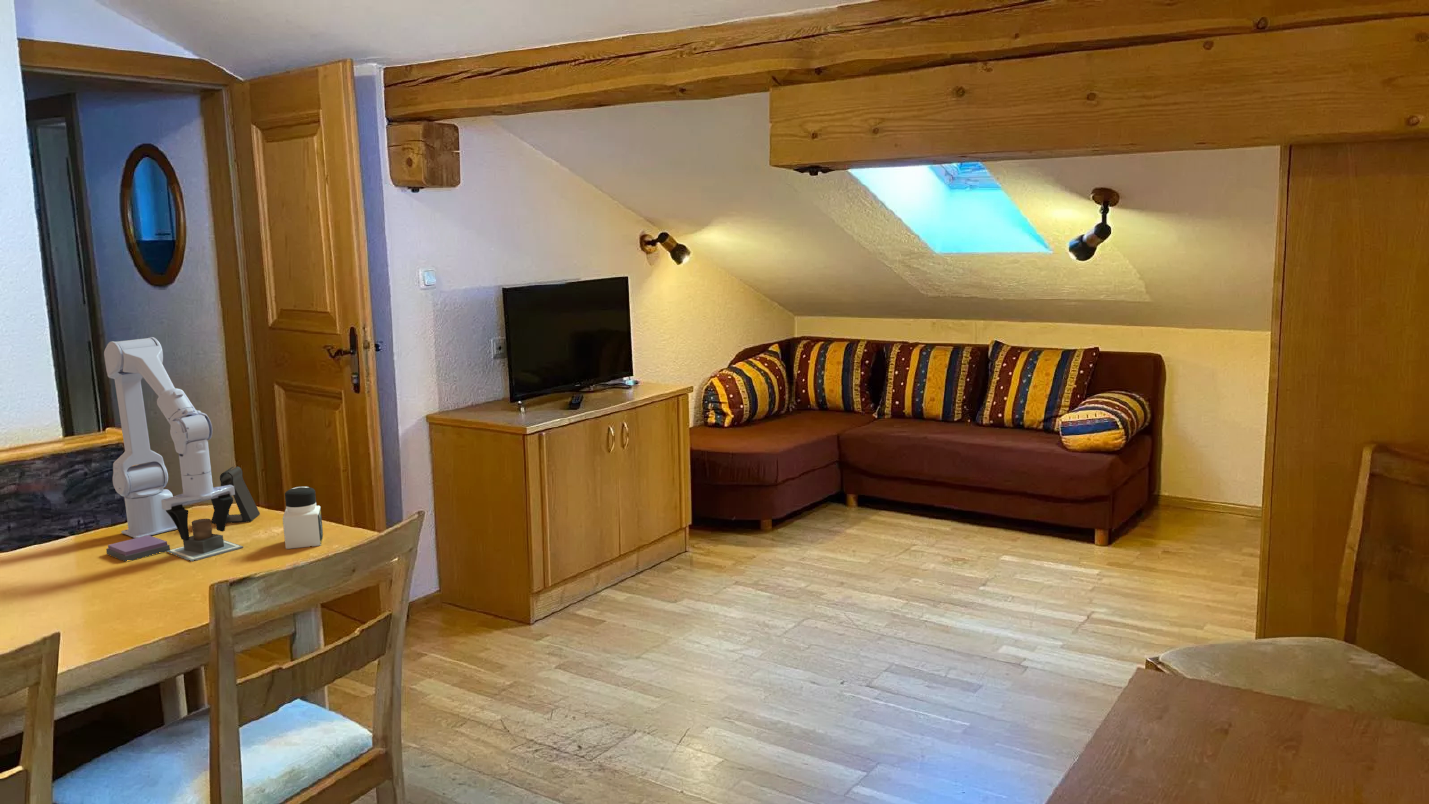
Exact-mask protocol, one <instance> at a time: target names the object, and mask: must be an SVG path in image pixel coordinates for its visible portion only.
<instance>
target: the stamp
mask: <svg viewBox="0 0 1429 804" xmlns="http://www.w3.org/2000/svg"><path fill="white" fill-rule="evenodd" d="M211 520H212V519H210V518H200V519H199V518H198V519H195V520H192V521H191V528H192V535H189V540H187V541H185V540H182V543H183V547H184V550H186V551H192V552H198V553H207V552H210V551H213V550H216V549H219V548H222V547H224V541H223V540H224V536H223V534H217V533H213V531H212V523H211Z"/></svg>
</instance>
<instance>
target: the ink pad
mask: <svg viewBox="0 0 1429 804" xmlns="http://www.w3.org/2000/svg"><path fill="white" fill-rule="evenodd" d="M170 547H171V545H170V544H168V541H166V540H164V539H161V538H159V537H156V536H154V535H147V536H143V537H139V538H132V539H127V540H123V541H119V542H115V543H111V544H107V548H105V549H106V555H107V554H108V556H110V555H111V556H110V557H112V556H113V558H115V557H116V559H117V558H118V560H120V561H122V560H124V561H123V562H125V561H127V560H132V561H135V560H134V559H136V560H138V559H137V558H140V559H142V557H144V558H146V557H145V556H147V557H150V556H149V555H151V556H153V555H152V554H155V555H157V554H156V553H159V552H163V553H167V552H166V551H168V550H171V548H170ZM159 554H160V553H159Z"/></svg>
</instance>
